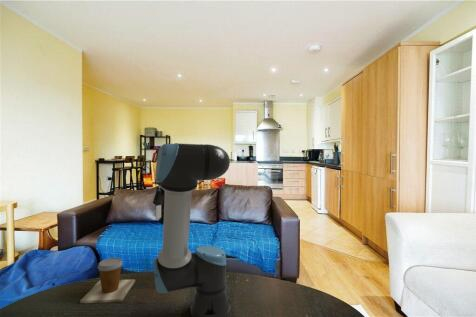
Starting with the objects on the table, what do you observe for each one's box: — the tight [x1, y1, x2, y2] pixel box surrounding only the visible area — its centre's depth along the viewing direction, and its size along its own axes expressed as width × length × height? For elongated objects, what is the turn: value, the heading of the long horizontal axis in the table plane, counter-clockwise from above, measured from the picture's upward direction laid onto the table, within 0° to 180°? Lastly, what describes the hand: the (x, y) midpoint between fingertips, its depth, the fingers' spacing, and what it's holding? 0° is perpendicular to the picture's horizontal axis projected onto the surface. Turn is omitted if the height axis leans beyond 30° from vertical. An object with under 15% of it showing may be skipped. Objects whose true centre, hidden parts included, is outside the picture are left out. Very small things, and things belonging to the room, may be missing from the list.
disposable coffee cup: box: [97, 257, 124, 293], centre depth 105 cm, size 10×10×12 cm
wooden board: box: [79, 278, 136, 304], centre depth 105 cm, size 16×16×1 cm
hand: (165, 220), depth 122 cm, fingers open, 13 cm apart
